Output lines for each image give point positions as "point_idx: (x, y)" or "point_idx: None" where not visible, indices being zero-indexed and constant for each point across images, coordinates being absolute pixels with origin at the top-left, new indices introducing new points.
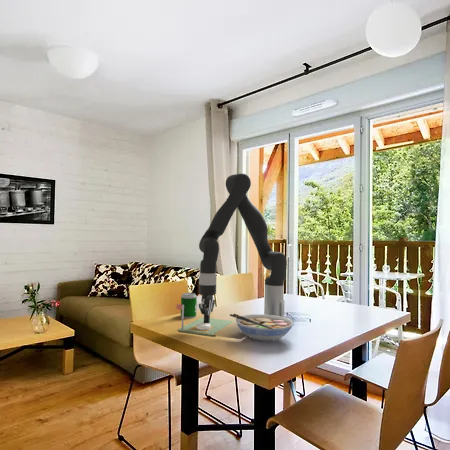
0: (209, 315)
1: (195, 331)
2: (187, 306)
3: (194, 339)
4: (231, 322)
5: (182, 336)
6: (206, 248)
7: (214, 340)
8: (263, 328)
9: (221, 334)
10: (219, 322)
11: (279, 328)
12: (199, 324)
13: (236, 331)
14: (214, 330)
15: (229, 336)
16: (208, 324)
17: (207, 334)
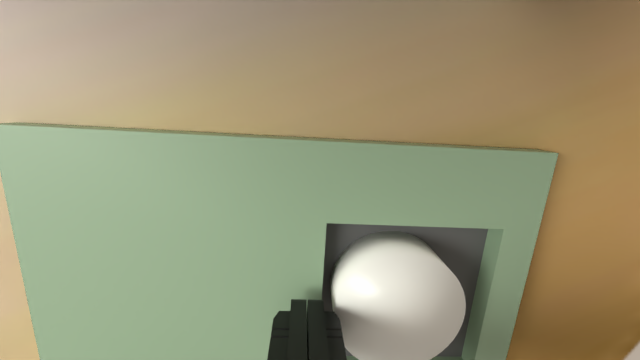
0: (298, 358)
1: (515, 307)
2: None
3: (619, 252)
4: (69, 131)
5: (564, 344)
6: None
7: (622, 110)
8: None
9: (441, 114)
10: (144, 242)
11: None
12: (410, 344)
13: (292, 7)
14: (444, 185)
15: (482, 23)
16: (381, 279)
17: (537, 204)
